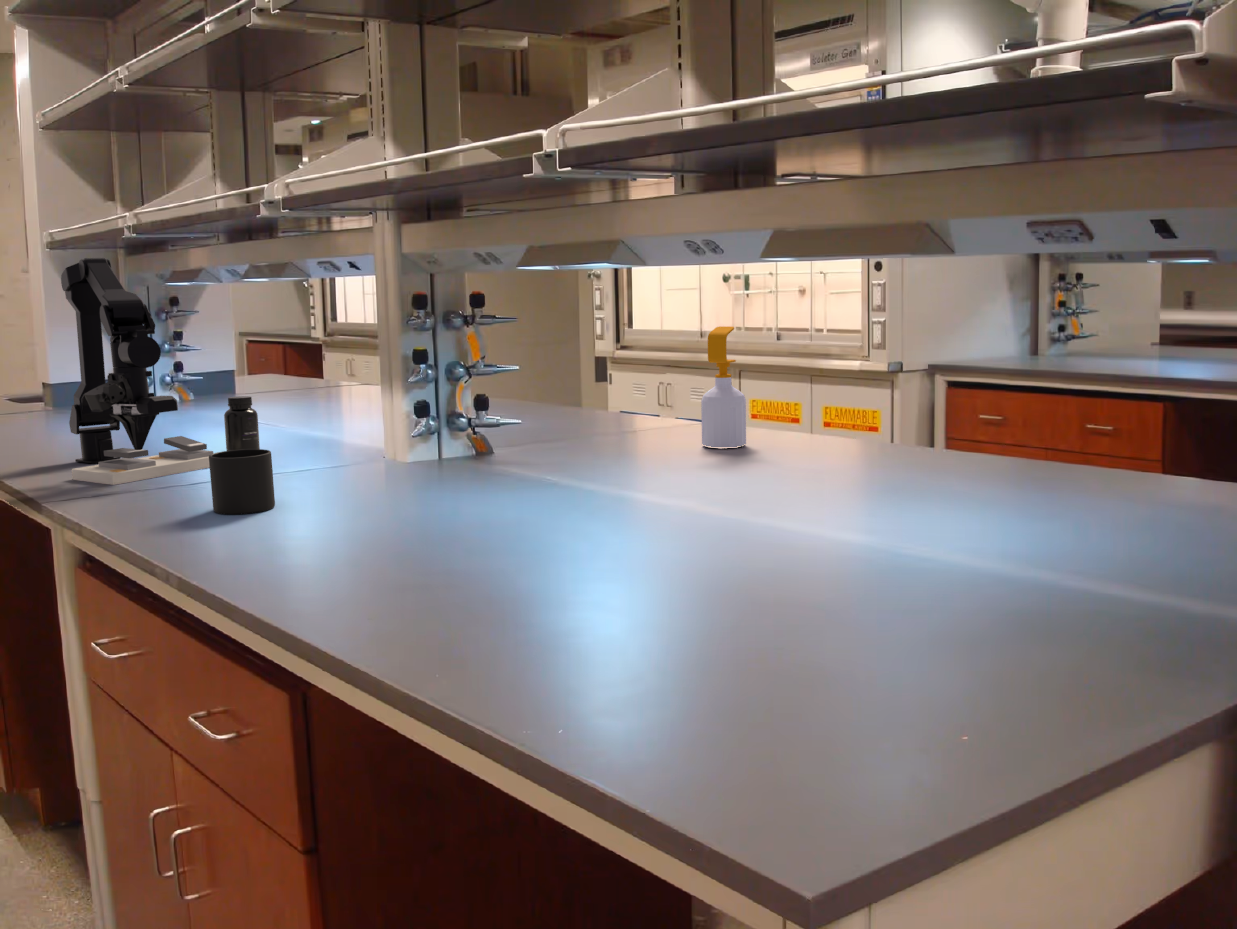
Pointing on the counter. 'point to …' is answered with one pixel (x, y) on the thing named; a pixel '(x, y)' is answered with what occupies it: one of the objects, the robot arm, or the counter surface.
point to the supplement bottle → (241, 424)
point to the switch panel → (143, 467)
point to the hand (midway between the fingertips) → (138, 449)
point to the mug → (242, 481)
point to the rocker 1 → (125, 453)
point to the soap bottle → (722, 399)
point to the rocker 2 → (185, 443)
